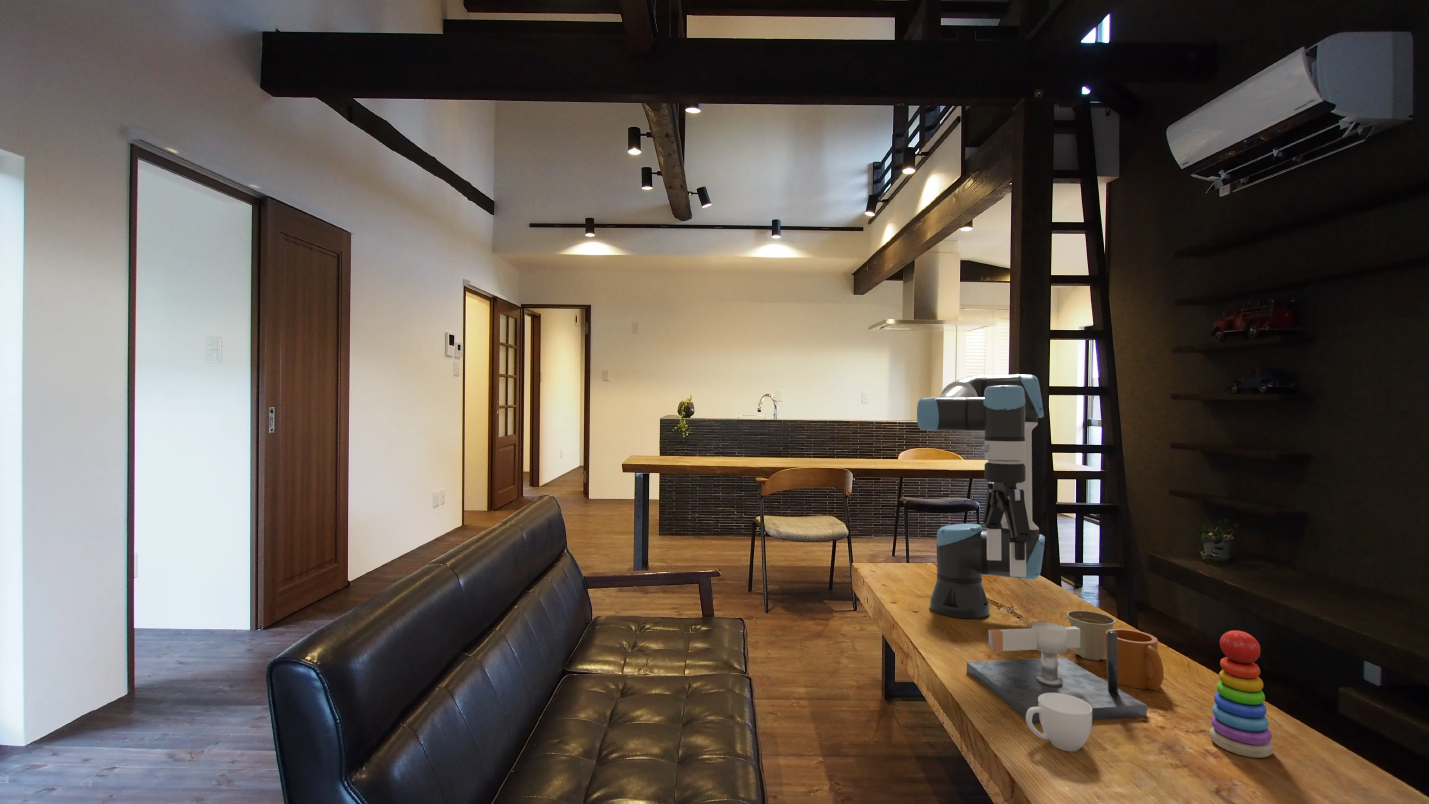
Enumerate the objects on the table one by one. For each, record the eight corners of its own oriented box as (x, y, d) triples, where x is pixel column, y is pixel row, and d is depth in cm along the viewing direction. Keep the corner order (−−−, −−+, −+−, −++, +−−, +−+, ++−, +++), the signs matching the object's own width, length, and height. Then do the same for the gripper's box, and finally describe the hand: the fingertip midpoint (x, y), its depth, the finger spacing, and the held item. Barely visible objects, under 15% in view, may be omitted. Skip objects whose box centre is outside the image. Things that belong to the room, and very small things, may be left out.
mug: (1128, 695, 120) (1127, 648, 121) (1098, 671, 132) (1096, 627, 132) (1179, 697, 119) (1177, 649, 119) (1144, 672, 131) (1142, 628, 131)
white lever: (1067, 641, 125) (1067, 621, 125) (1088, 652, 119) (1088, 631, 119) (982, 644, 123) (982, 624, 123) (999, 656, 117) (999, 635, 117)
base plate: (966, 671, 131) (966, 609, 131) (1064, 666, 134) (1063, 605, 134) (1031, 723, 109) (1030, 648, 110) (1146, 716, 112) (1145, 642, 112)
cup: (1102, 758, 98) (1102, 714, 98) (1037, 756, 99) (1037, 713, 99) (1076, 733, 106) (1076, 692, 106) (1016, 731, 106) (1016, 691, 107)
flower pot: (1123, 665, 134) (1123, 625, 134) (1075, 662, 136) (1075, 622, 136) (1105, 649, 143) (1105, 611, 144) (1060, 646, 145) (1060, 609, 145)
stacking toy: (1196, 735, 105) (1195, 623, 106) (1240, 733, 106) (1239, 621, 106) (1240, 761, 97) (1238, 640, 98) (1287, 759, 98) (1285, 638, 98)
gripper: (967, 457, 139) (967, 553, 139) (1007, 466, 114) (1008, 583, 114) (1002, 458, 138) (1003, 554, 138) (1050, 467, 114) (1051, 585, 113)
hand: (1005, 567), depth 126 cm, fingers open, 13 cm apart
